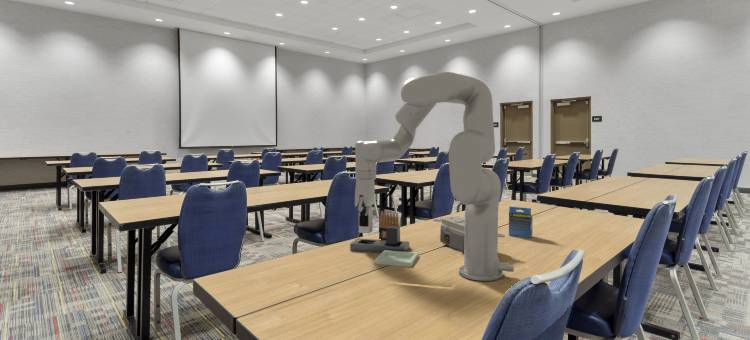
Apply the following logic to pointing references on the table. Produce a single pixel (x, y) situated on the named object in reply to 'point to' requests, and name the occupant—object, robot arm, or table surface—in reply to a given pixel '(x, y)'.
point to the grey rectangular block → (370, 221)
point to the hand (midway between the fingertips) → (365, 224)
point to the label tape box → (520, 222)
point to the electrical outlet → (453, 232)
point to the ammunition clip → (387, 223)
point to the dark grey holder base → (382, 242)
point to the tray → (396, 258)
